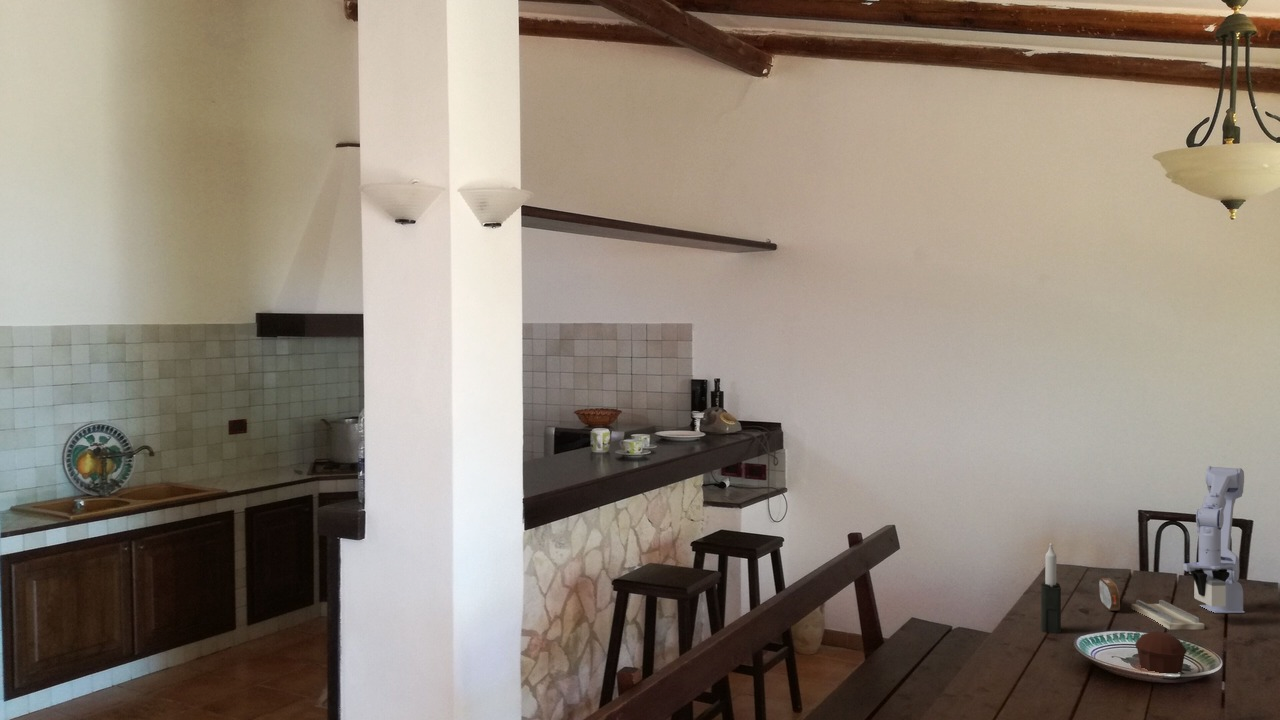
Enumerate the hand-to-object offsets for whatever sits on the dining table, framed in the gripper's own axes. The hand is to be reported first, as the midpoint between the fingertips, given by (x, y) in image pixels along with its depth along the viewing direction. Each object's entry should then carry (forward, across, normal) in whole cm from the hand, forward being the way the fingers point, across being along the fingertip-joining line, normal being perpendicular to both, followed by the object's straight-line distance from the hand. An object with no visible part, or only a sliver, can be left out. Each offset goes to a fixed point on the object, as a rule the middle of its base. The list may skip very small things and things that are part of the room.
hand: (1209, 595), depth 292 cm
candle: (+8, -50, -8) cm, 51 cm away
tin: (+8, -22, +16) cm, 28 cm away
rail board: (+8, -11, +3) cm, 14 cm away
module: (+2, 0, 0) cm, 2 cm away
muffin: (+8, -38, -45) cm, 59 cm away
